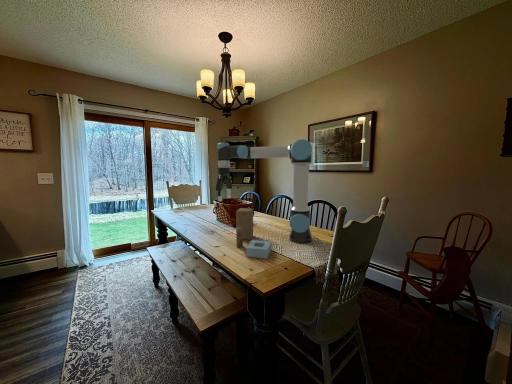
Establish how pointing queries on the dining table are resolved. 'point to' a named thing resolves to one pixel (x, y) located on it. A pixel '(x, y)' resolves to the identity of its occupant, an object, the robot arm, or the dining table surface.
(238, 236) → the walnut peg
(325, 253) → the dining table surface
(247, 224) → the wooden block
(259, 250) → the socket block
